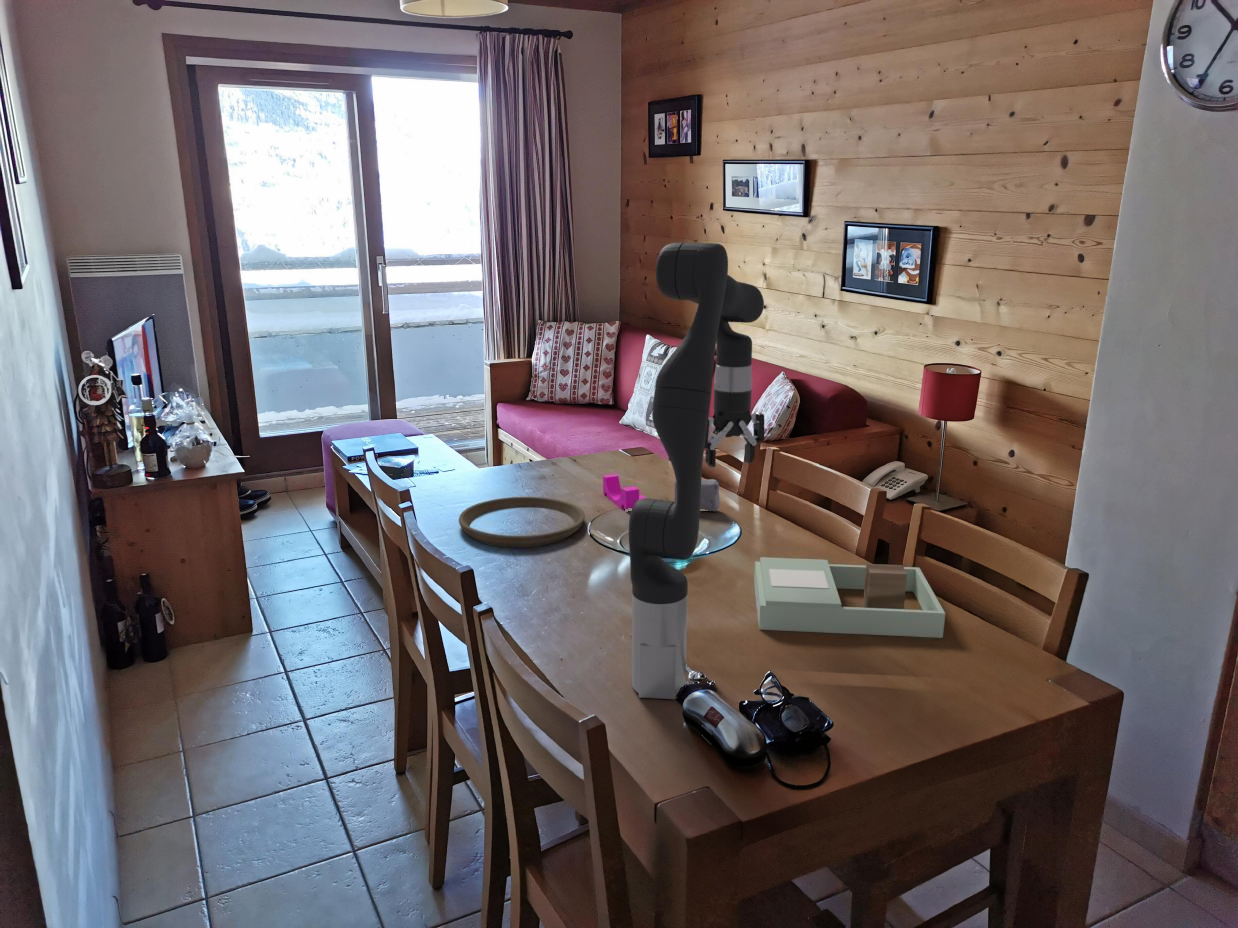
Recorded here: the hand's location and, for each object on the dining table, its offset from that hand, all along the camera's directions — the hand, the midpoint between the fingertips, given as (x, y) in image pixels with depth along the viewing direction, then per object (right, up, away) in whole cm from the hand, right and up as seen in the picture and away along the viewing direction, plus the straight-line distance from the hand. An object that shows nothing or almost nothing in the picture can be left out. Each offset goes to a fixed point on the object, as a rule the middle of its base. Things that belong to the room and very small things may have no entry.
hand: (730, 464), depth 184 cm
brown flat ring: (-47, -17, +39) cm, 63 cm away
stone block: (-2, -13, +50) cm, 52 cm away
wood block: (+30, -29, -5) cm, 42 cm away
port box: (+22, -29, -5) cm, 37 cm away
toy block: (-21, -12, +56) cm, 61 cm away
